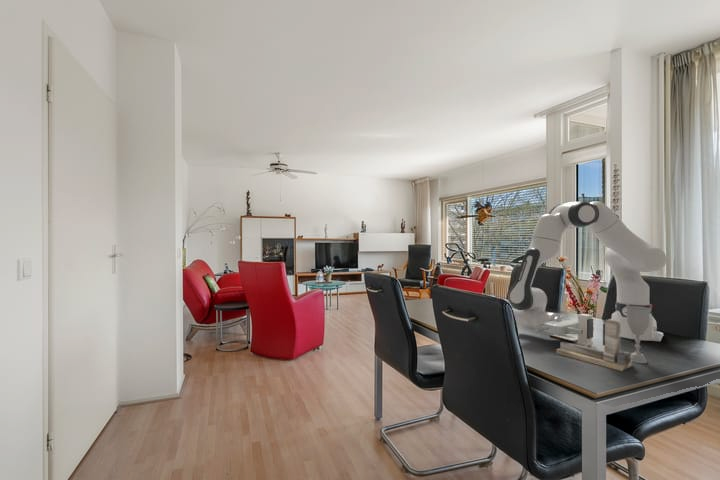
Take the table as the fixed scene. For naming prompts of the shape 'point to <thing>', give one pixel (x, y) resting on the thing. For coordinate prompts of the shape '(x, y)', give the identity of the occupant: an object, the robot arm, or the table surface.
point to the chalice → (638, 328)
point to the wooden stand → (604, 358)
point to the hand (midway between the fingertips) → (587, 330)
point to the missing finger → (585, 330)
